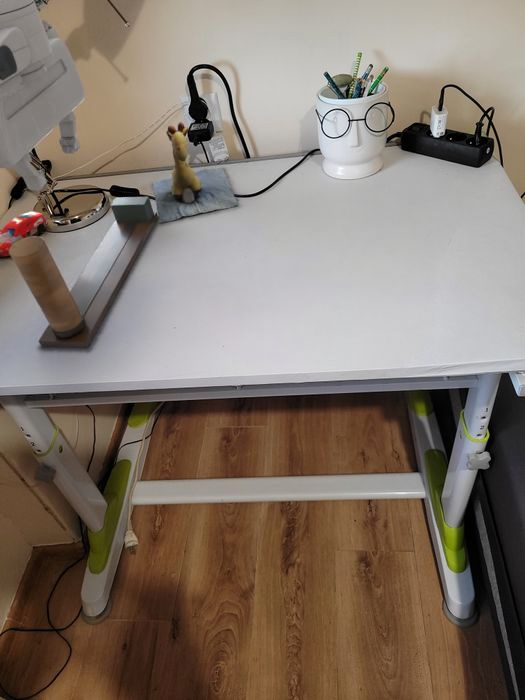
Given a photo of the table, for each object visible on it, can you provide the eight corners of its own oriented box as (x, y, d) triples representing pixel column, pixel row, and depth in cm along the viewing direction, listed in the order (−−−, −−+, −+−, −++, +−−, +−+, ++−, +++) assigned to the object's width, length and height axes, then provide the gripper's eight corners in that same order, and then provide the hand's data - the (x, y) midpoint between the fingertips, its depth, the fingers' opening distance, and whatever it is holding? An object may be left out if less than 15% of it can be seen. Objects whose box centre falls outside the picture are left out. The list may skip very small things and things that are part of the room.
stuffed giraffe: (159, 223, 101) (139, 142, 90) (153, 185, 114) (134, 110, 103) (238, 207, 103) (227, 127, 92) (223, 172, 116) (212, 97, 105)
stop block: (151, 227, 101) (144, 204, 97) (118, 227, 102) (110, 205, 98) (155, 218, 103) (148, 196, 99) (123, 219, 104) (115, 197, 100)
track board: (88, 348, 78) (85, 342, 77) (41, 346, 79) (37, 340, 78) (158, 217, 103) (156, 211, 102) (121, 218, 104) (119, 212, 103)
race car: (8, 261, 98) (-3, 244, 95) (-12, 257, 100) (-22, 239, 97) (54, 225, 106) (46, 208, 103) (35, 221, 108) (27, 204, 105)
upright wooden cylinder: (54, 342, 77) (8, 262, 67) (51, 322, 81) (6, 242, 70) (88, 330, 78) (47, 249, 68) (83, 311, 82) (43, 231, 71)
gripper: (24, 17, 60) (68, 133, 70) (-83, 78, 46) (-9, 212, 56) (72, 13, 59) (111, 131, 69) (-23, 73, 45) (42, 211, 55)
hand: (56, 168), depth 63 cm, fingers open, 8 cm apart
